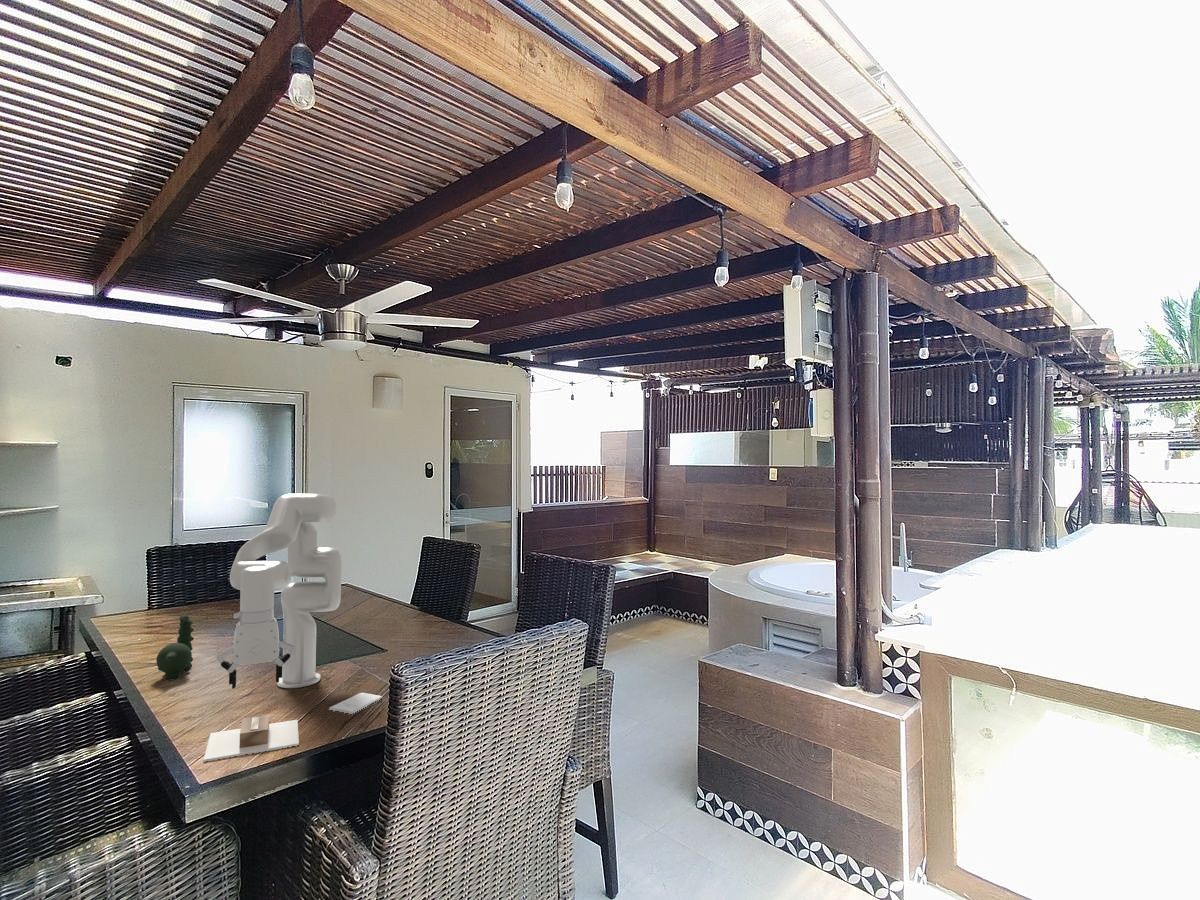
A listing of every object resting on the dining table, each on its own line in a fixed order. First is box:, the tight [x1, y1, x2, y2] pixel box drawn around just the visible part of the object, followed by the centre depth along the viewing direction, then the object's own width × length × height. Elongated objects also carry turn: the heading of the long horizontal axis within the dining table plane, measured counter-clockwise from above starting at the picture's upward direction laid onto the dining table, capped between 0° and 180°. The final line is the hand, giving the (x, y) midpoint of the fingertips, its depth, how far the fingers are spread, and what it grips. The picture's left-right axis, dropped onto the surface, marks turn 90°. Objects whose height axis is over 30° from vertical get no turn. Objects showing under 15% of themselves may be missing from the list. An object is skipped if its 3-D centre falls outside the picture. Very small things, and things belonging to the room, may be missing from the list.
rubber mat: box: [203, 719, 300, 763], centre depth 157 cm, size 16×20×1 cm
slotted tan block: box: [239, 714, 270, 748], centre depth 157 cm, size 6×10×4 cm, turn 26°
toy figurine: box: [155, 613, 194, 681], centre depth 207 cm, size 9×19×25 cm
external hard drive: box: [328, 692, 383, 715], centre depth 181 cm, size 2×8×12 cm
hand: (256, 683), depth 158 cm, fingers open, 9 cm apart
